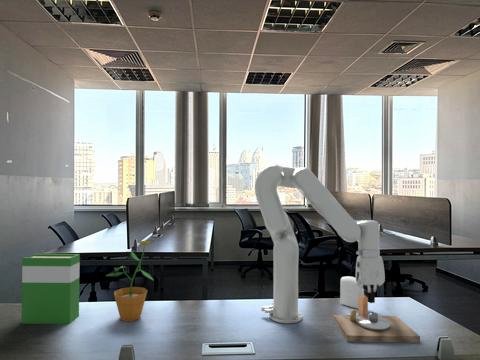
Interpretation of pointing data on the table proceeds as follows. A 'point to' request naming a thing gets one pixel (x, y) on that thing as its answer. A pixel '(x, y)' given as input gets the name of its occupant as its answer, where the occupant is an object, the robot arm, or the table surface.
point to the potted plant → (130, 292)
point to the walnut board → (360, 334)
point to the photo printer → (350, 291)
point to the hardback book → (50, 288)
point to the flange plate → (370, 324)
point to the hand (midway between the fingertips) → (370, 301)
